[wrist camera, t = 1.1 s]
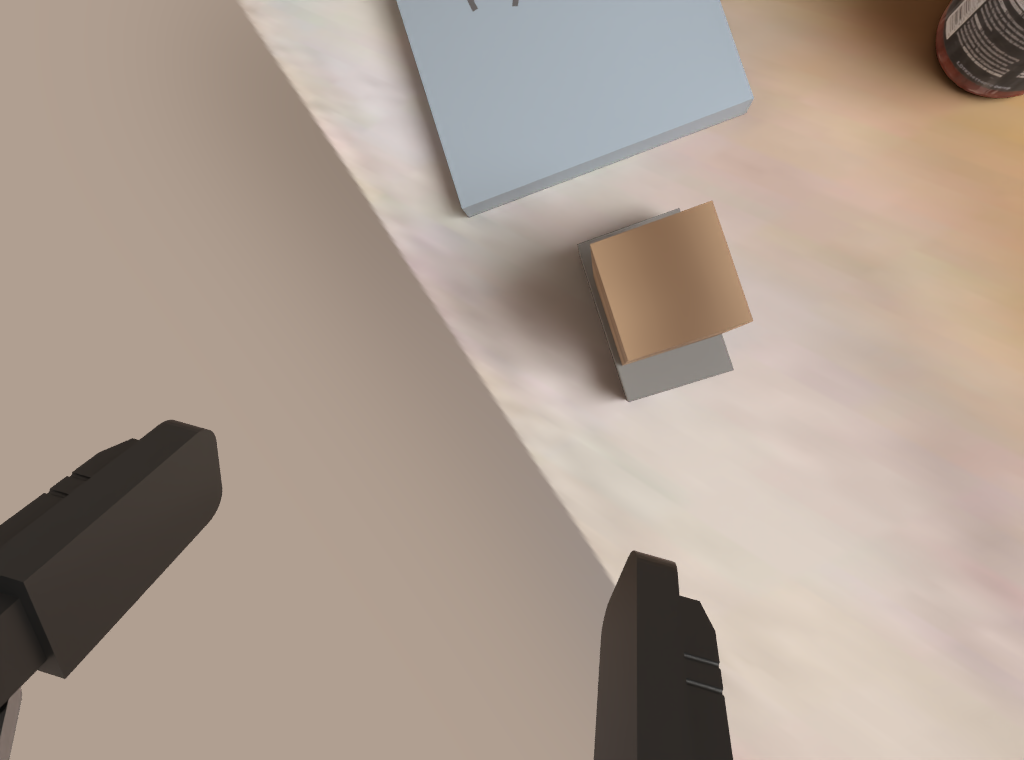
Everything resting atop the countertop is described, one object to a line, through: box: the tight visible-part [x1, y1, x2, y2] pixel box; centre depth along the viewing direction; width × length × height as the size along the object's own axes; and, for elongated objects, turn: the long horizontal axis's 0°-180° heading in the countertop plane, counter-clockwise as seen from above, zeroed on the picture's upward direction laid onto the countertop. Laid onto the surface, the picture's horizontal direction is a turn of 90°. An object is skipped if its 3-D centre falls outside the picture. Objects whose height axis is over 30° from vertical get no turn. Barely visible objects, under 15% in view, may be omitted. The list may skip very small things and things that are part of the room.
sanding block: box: [577, 201, 753, 402], centre depth 24 cm, size 5×8×9 cm, turn 18°
